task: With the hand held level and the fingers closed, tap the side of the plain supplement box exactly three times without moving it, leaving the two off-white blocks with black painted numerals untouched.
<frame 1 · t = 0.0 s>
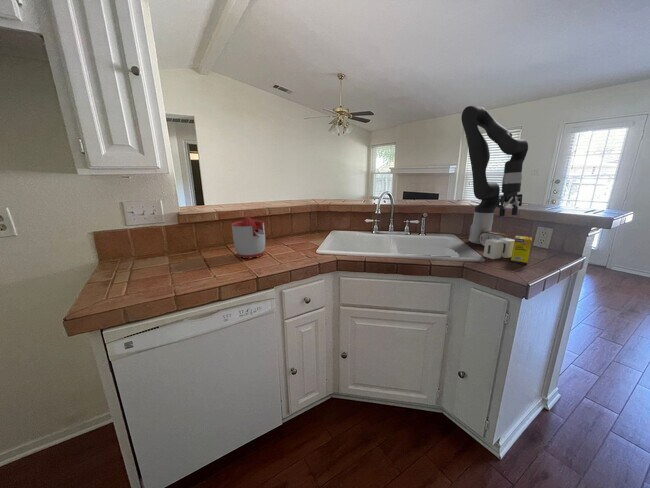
hand: (508, 215, 128), 17 cm above the counter, fingers open, 8 cm apart
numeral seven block: (504, 255, 121), on the counter
tin: (492, 248, 134), on the counter
supplement box: (518, 261, 114), on the counter
citrus juicer: (252, 256, 128), on the counter
numeral one block: (491, 256, 120), on the counter
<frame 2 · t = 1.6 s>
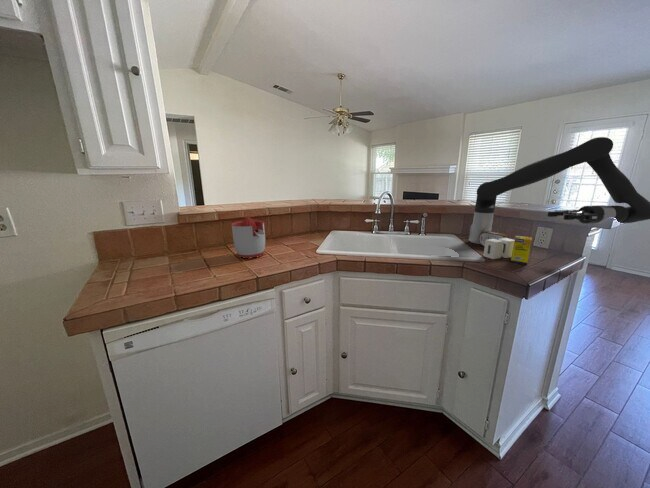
hand: (556, 215, 108), 20 cm above the counter, fingers open, 7 cm apart
nothing on the counter moved.
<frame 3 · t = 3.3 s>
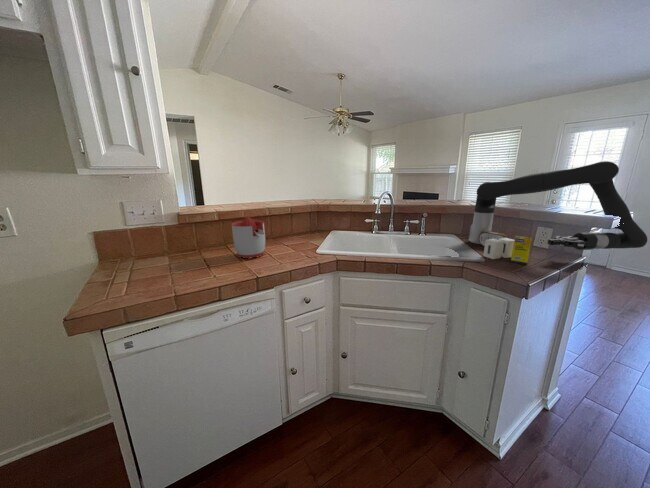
hand: (549, 242, 111), 9 cm above the counter, fingers closed
nothing on the counter moved.
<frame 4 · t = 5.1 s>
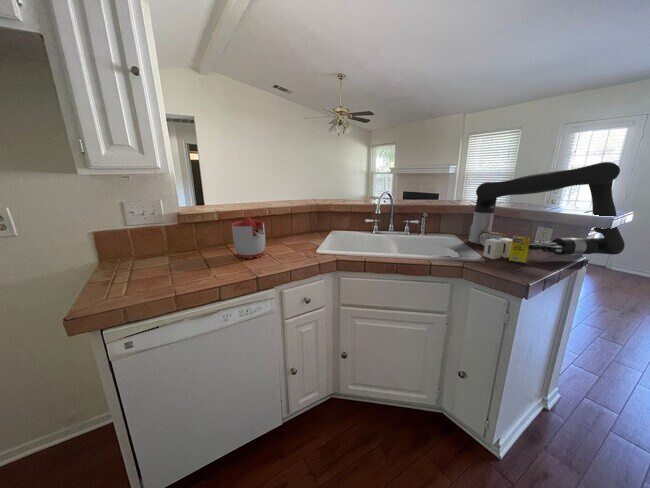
hand: (528, 246, 112), 7 cm above the counter, fingers closed
supplement box: (516, 261, 114), on the counter, touching gripper
everything else where it was.
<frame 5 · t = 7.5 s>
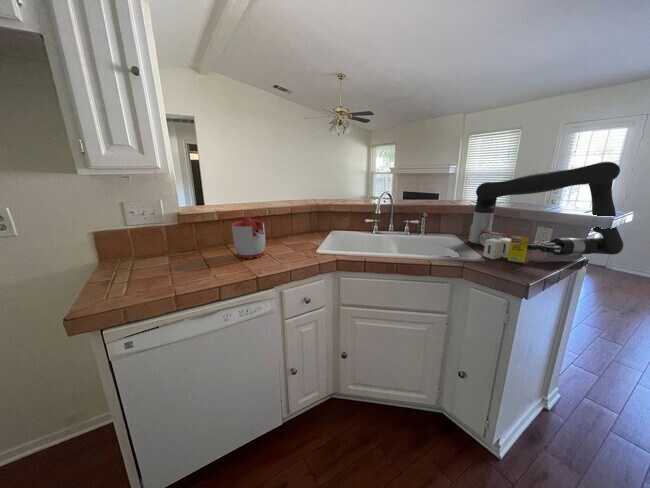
hand: (527, 247, 112), 7 cm above the counter, fingers closed
supplement box: (515, 261, 114), on the counter, touching gripper
everything else where it was.
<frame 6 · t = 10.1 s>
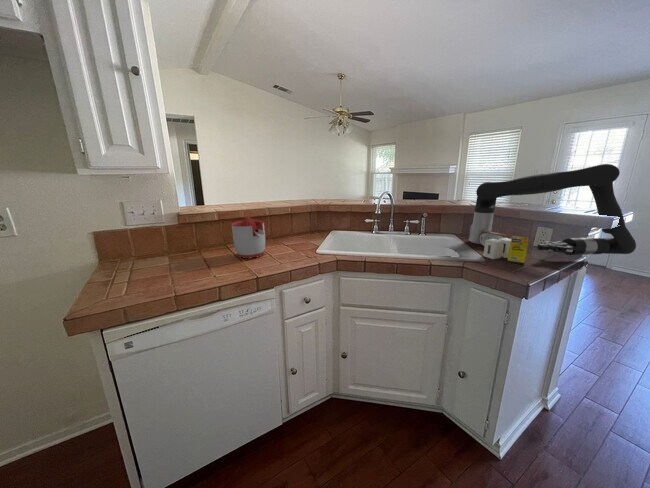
hand: (538, 247, 112), 7 cm above the counter, fingers closed
supplement box: (515, 262, 114), on the counter
everything else where it was.
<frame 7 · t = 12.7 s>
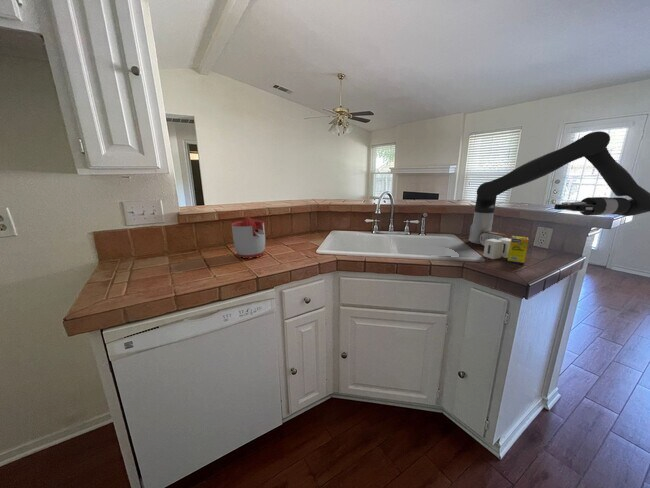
hand: (556, 206, 107), 24 cm above the counter, fingers closed
nothing on the counter moved.
at the end: supplement box moved 1.6 cm from its start; supplement box tilted 0°; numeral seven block moved 0.1 cm from its start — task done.
